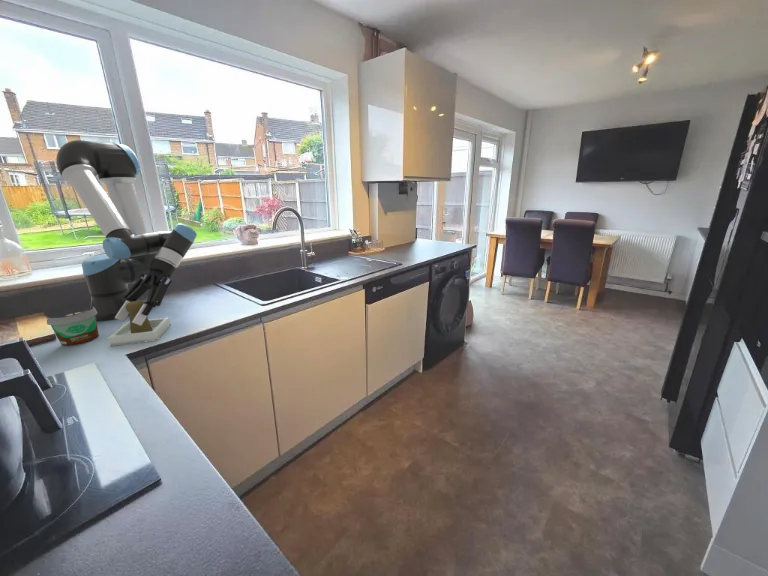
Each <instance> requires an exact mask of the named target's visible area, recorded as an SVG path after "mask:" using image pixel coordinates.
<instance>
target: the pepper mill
mask: <svg viewBox="0 0 768 576" xmlns="http://www.w3.org/2000/svg"><path fill="white" fill-rule="evenodd" d="M144 302H145V301H143V300H136V301H133V302H129V303H128V304H127V305H126V310H127V311H128V312H129V315H128V316H129V322H130V328H131V334H132V333H141V332H149V331H153V329H152V327H151V324H150V322H149V318H148V316H147V317H146V319H145V320H144V322H143V324H142V325H141V326H140V325H138V324H135V323H133V322H132V321H133V320H134V318H135V316H136V315H137V313H138V312H139V310H140V309H141V307H142V306H143V304H145V303H144Z"/></svg>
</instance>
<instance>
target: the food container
mask: <svg viewBox="0 0 768 576" xmlns="http://www.w3.org/2000/svg"><path fill="white" fill-rule="evenodd" d="M97 313H98V312H97V311H96V309H95V308H94V307H93V309H88V310H87V309H86V310H83V311H76V312H75V311H74V312H71V313H68V314H65V315H62V316H59V317H46V325H48V326H51V328H52V330H53V332H54V333H55V337H56V339H58V341H59V343H60V345H61V346H63V347H74V346H79V345H84V344H87V343H90V342H92V341H94V340H97V339H98V337H99V336H100V335H99V330H98V329H99V328H98V323H97V320H96V316H95V315H96V314H97Z"/></svg>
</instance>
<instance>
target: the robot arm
mask: <svg viewBox="0 0 768 576" xmlns="http://www.w3.org/2000/svg"><path fill="white" fill-rule="evenodd" d="M55 161H56V167H57V170H58V172H59V174H60V175H61V177H62V179H63V180H64V181H65V182H67V183H70V184H71V186H72V187H73V189H74V190H75V192H76V193H77V195H78V197H79V198H80V200H81V202H82V203H83V205H84V206H85V208H86V209H87V210H88V212H89V213H90V215H91V217H92V218H93V220H94V222H95V223H96V225H98V228H99V229H100V231H101V232H102V234H103V235H104V237H105V238H104V239H103V241H102V249H103V250H104V254H102V253H101V254H98V255H94V256H91V257H89V258H86V259H85V260H83V261H82V262H81V269H82V275H83V276H84V279H85V282H86V286H87V289H88V291H89V292H88V293H89V294H90V299H91V301H90V309H93V307H94V308H95V309H96V311H97V312H98V313H97V314H96V315H95V316H96V321H108V320H115V319H116V320H119V321H121V322H125V321H126V319H127V318H128V316H129V312H128V311H127V310H126V305H127V304H128V303H129V302H133V301H138V299H140V298H141V297H142V296H143V295H144V294H145V293H146V292H147V291H148V290H149V291H148V296H147V299H146V301H143V302H144V303H145V304H143V306H142V307H141V309H140V310H139V312H138V313H137V315H136V316H135V318H134V320H133V321H132V322H133V323H135V324H138V325H140V326H141V325H142V324H143V322H144V320H145V319H146V317H148V316H149V315H150V313H151V312H152V310H153V308H156V307H160V305H161V304H162V302H163V299H164V298H165V295H166V293H167V290H168V289H169V286H170V285H171V284H172V282H173V281H172V280H171V279H170V278H172V277H173V275H174V274H175V272H176V270H177V269H176V268H178V267H179V265H180V264H181V262H182V260H183V259H184V258H185V256H186V254H187V253H188V251H189V250H190V248H191V247H192V246H193V244H194V241H195V240H196V238H197V236H198V235H197V232H196V230H195V229H194V228H192V227H190V226H189V225H187V224H183V223H177V224H176V225H175V226H174V227H173V228H172V230H166V231H163V230H159V231H154V232H147V228H146V225H145V221H144V218H143V214H142V210H141V207H140V203H139V200H138V197H137V193H136V190H135V186H134V183H135V181H137V175H139V174H140V168H141V167H140V162H139V159H138V157H137V155H136V153H135V152H134V151H133V149H131V148H130V147H129V146H127V145H126V144H122V143H116V142H108V141H106V142H105V141H104V142H103V141H93V140H92V141H91V140H83V139H82V140H81V139H79V140H78V139H75V140H70V141H68V142H66V143H64V144H63V145H62V146H61V147H60V148H59V150H58V151H57V154H56V160H55ZM101 183H103V184H104V186H106V190H107V191H106V190H105V188H104V186H103V185H102V184H101ZM129 284H132V285H131V287H130V288H129V286H128V285H129ZM90 309H89V310H90Z"/></svg>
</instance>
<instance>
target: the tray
mask: <svg viewBox="0 0 768 576" xmlns="http://www.w3.org/2000/svg"><path fill="white" fill-rule="evenodd" d="M148 320H149V322H150V324H151V327H152V329H153V331H149V332H141V333H132V334H131V328H130V321H126V322H125V323H124V324H123V325H121V326H120V327H119V328H118V329H117V330H115V332H113V333H112V334H110V336H108V337H107V338H108V339H107V340H108V341H109V345H110V347H115V346H116V347H117V346H123V345H132V343H133V344H139V343H138V342H141V343H146V342H145V341H149V342H153V341H152V340H157V341H158V340H159V339H160V338H161V337H162V336H163V335H164V333H166V331H167V330H168V328H170V327H171V325H172V324H171V320H170V317H161V318H160V317H159V318H151V319H149V318H148ZM162 334H163V335H162ZM161 335H162V336H161ZM160 336H161V337H160ZM159 337H160V338H159ZM158 338H159V339H158Z"/></svg>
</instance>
